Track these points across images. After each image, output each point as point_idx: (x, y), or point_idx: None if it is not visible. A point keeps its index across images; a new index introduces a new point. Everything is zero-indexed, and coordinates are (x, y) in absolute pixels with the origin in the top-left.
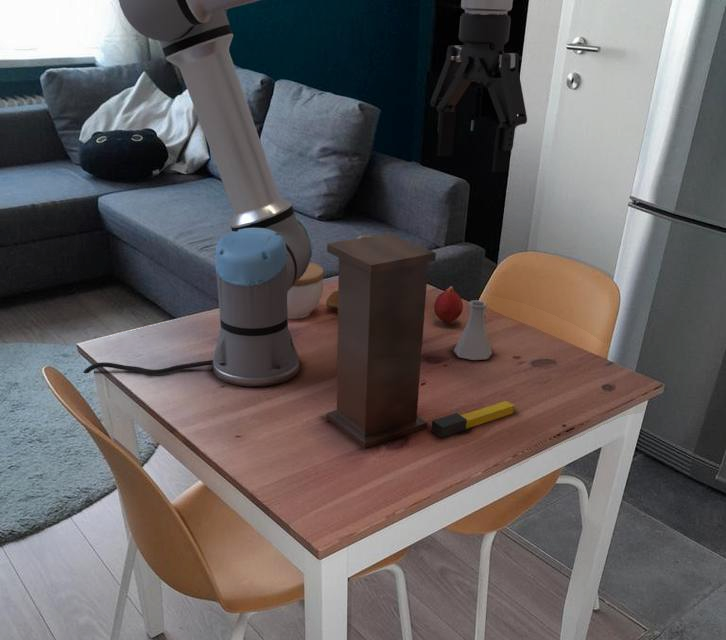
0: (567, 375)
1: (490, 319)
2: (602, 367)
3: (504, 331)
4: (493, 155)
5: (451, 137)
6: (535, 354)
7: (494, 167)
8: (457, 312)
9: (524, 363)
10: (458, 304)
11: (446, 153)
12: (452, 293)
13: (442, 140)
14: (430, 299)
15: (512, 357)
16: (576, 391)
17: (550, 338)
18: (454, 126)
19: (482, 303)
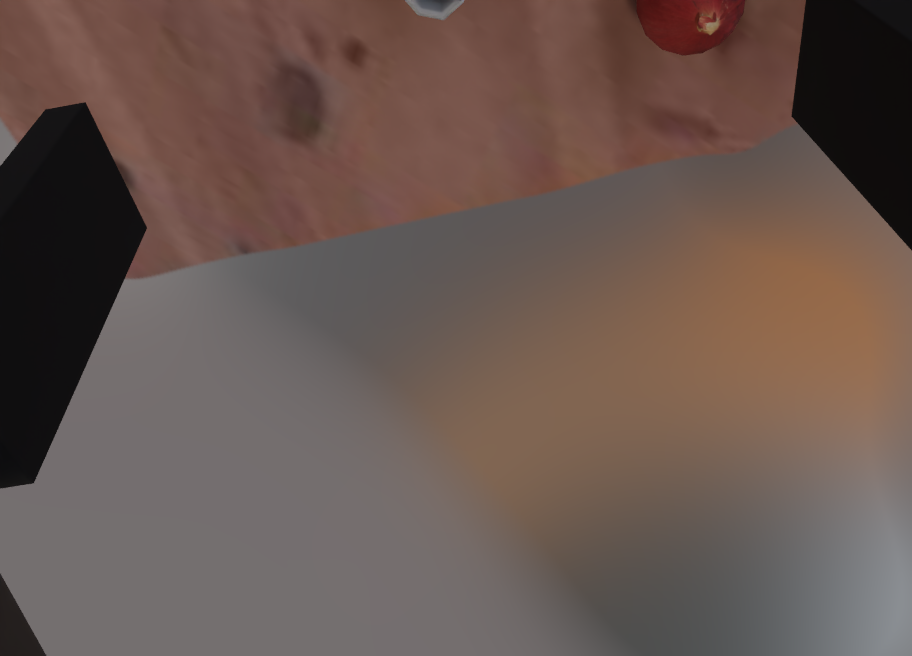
0: (204, 121)
1: (631, 134)
2: (233, 230)
3: (536, 124)
4: (36, 168)
5: (863, 163)
6: (358, 118)
7: (43, 127)
8: (637, 7)
9: (309, 52)
10: (649, 20)
11: (809, 58)
12: (689, 19)
13: (877, 40)
14: None
15: (359, 42)
16: (100, 85)
17: (441, 213)
18: (909, 244)
19: (442, 8)
